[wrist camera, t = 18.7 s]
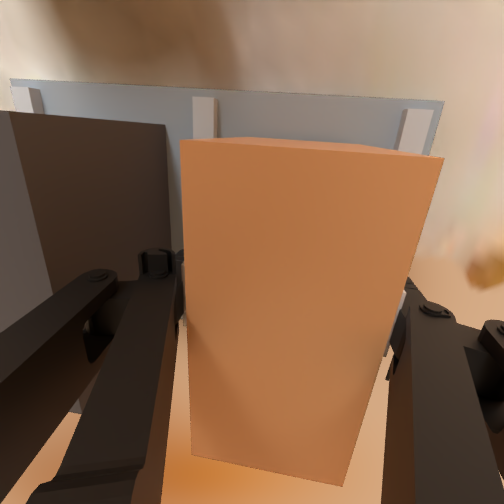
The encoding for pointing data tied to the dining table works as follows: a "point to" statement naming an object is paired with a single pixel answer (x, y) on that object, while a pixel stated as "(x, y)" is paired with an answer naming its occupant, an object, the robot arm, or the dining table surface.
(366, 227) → the terracotta block
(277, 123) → the grey flat panel
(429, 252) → the dining table surface
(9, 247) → the grey rectangular block
